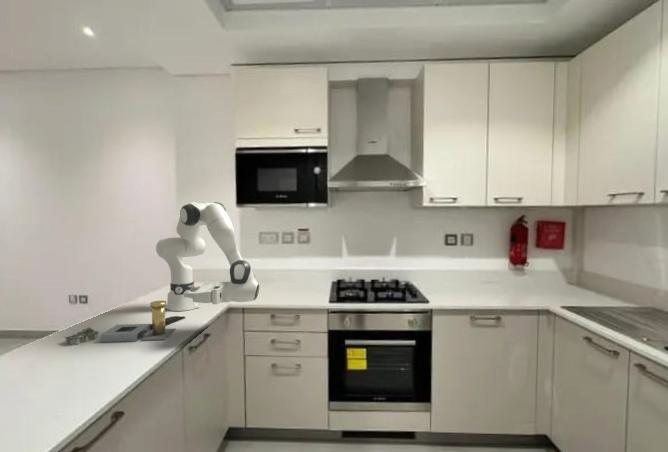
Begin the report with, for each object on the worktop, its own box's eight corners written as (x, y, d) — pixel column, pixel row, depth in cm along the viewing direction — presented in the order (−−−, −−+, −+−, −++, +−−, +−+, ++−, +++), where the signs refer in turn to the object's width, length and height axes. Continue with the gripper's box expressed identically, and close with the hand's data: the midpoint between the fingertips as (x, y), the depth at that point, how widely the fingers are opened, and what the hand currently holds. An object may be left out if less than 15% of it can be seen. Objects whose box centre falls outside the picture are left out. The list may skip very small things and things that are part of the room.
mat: (154, 330, 163) (154, 329, 163) (175, 329, 164) (175, 328, 164) (141, 341, 149) (140, 339, 149) (164, 340, 150) (164, 338, 150)
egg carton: (91, 336, 156) (91, 326, 156) (101, 338, 153) (101, 329, 153) (62, 343, 147) (62, 333, 147) (72, 346, 144) (72, 336, 143)
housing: (117, 331, 161) (117, 324, 161) (150, 330, 163) (150, 323, 163) (100, 342, 147) (100, 335, 147) (137, 341, 149) (136, 333, 149)
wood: (174, 317, 185) (174, 311, 185) (186, 318, 183) (186, 312, 183) (139, 330, 164) (139, 324, 164) (153, 332, 162) (153, 325, 162)
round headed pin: (154, 331, 159) (153, 300, 159) (169, 331, 160) (168, 300, 159) (148, 336, 153) (147, 304, 153) (163, 335, 154) (163, 303, 153)
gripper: (225, 279, 169) (194, 279, 168) (215, 290, 149) (180, 290, 147) (225, 293, 169) (194, 293, 168) (215, 305, 149) (180, 305, 148)
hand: (187, 292), depth 157 cm, fingers open, 8 cm apart
